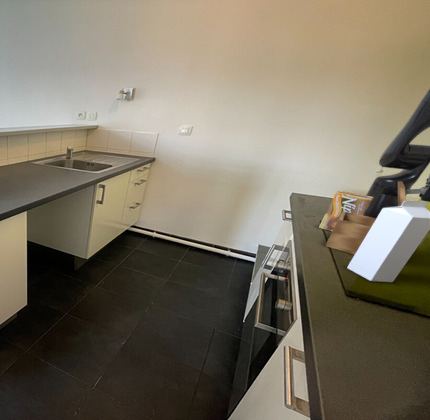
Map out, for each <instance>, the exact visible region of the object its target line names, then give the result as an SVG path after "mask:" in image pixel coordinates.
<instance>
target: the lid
mask: <svg viewBox="0 0 430 420" xmlns="http://www.w3.org/2000/svg"><path fill="white" fill-rule="evenodd" d="M427 189H428V187H425V186H422V187H420V188H411V189H405V186H404V184H403V182H402V181H398V206H401V205H402V203H403V202H404V201H406V197H405V194H407V195H419V194H423V195H424V193H425V192H426V190H427Z"/></svg>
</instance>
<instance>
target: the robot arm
mask: <svg viewBox="0 0 430 420" xmlns="http://www.w3.org/2000/svg"><path fill="white" fill-rule="evenodd" d="M429 128H430V87H429V88H428V89H427V91H426V92H425V94H424V95H423V97H422V98H421V100H420V101H419V103H418V104H417V105H416V108H415V109H414V110H413V112H412V114H411V115H410V117H409V118H408V119H407V121H406V123H405V124H404V125H403V126H402V128H401V129H400V130H399V131H398V133H397V134H396V135H395V137H394V138H393V139H392V140H391V141H390V142H389V144H388V145H387V146H386V147H385V149H384V150H383V152H382V153H381V155H380V157H379V159H378V165H379V166H380V167H382V168H388V169H394V170H395V169H396V170H400V171H399V172H396V173H394V174H388V175H379V176H376V177H375V179H374V180H373V181H372V184H370V187H369V189H368V191H367V193H366V194H365V196H370V197H374V198H373V200H372V201H371V203H370V205H369V207H368V208H367V210H366V212H365V214H364V215H363V216H368V217H372V218H377V217H378V215H379V214H380V212H381V210H382V209H383V208H388V207H397V206H398V181H402V182H403V184H404V186H405V189H412V186H414V185H415V184H416V183H417V182H418V181H419V179H420V177H421V176H422V175H423V173H424V172H425V170H426V169H427V168H428V166H429V165H430V145H427V144H415V143H412V142H413V141H414V140H415V139H416V138H417V137H418V136H420V134H422V133H423V132H424V131H427V130H428V129H429ZM424 187H428V189H427V190H426V192H425V193H424V195H423V194H418V197H419V198H420V201H424V202H428V203H430V173H429V174H428V177H427V178H426V181H425V185H424ZM407 195H408V194H405V198H406V197H407Z"/></svg>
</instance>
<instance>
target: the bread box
mask: <svg viewBox="0 0 430 420" xmlns="http://www.w3.org/2000/svg"><path fill="white" fill-rule="evenodd" d="M376 219H377V218H372V217H368V216H363V215H359V214H354V213H350V212H345V211H343V212H342V213H341V215H340V217H339V219H338V221H337V223H336V225H335V226H334V228H333V230H332V231H330V233H329V236H328V238H327V241H326V243H325V247H328V248H331V249H333V250H337V251H341V252H344V253H348V254H351V255H353V256H354V255H355V254H356V252H357V250H358V249H359V247H360V245H361V244H362V242H363V240H364V239H365V237H366V235H367V234H368V232H369V230H370V229H371V227H372V225H373V224H374V222H375V220H376Z"/></svg>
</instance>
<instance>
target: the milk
mask: <svg viewBox="0 0 430 420" xmlns="http://www.w3.org/2000/svg"><path fill="white" fill-rule="evenodd" d="M428 205H429V202H427V201H422V200H405V201H404V202H403V203H402V205H401V206H397V207H388V208H383V209H382V210H381V212H380V214H379V215H378V217H377V219H376V220H375V222H374V224H373V225H372V227H371V229H370V230H369V232H368V234H367V235H366V237H365V239H364V240H363V242H362V244H361V245H360V247H359V249H358V250H357V252H356V254H355V255H354V254H353V257H352V258H351V260H350V261H349V263H348V266H347V267H346V268H347V270H350V271H352V272H353V273H355V274H357V275H358V276H360V277H362V278H365V279H366V280H368V281H370V282H381V283H382V282H383V283H393V282H394V281H395V280H396V278H397V277H398V276H399V274H400V273H401V272H402V270H403V268H404V267H405V266H406V264H407V263H408V261H409V260H410V259H411V257H412V256H413V254H414V253H415V252H416V250H417V248H418V247H419V245H420V244H421V243H422V241H423V240H424V238H426V235H427V234H428V233H429V231H430V210H429V209H428V208H427V206H428Z"/></svg>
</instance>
